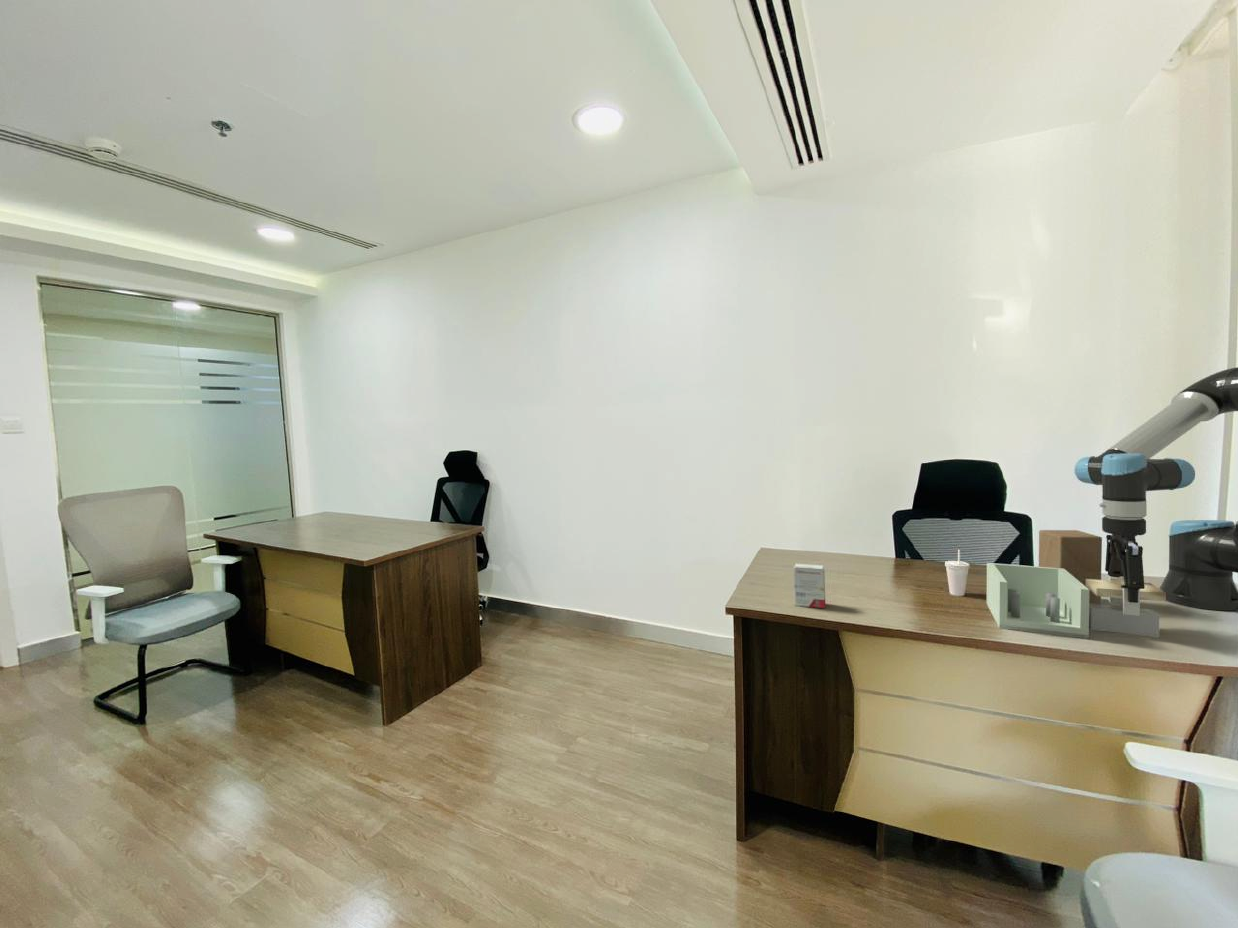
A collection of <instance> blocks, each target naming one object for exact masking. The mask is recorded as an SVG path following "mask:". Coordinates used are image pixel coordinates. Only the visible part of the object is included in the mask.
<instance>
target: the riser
mask: <svg viewBox="0 0 1238 928" xmlns="http://www.w3.org/2000/svg"><path fill="white" fill-rule="evenodd" d="M1089 629H1090V630H1091V631H1092V630H1093V631H1099V632H1100V631H1101V632H1108V633H1109V632H1110V633H1119V634H1127V635H1135V636H1143V637H1151V638H1157V639H1158V638H1160V613H1158V612H1157V611H1155V610H1154V609H1152V608H1141V607H1140V616H1136V615H1125V614H1123V605H1122V606H1121V605H1111V604H1110V605H1109V604H1092V603H1089Z"/></svg>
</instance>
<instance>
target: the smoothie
mask: <svg viewBox="0 0 1238 928" xmlns="http://www.w3.org/2000/svg"><path fill="white" fill-rule="evenodd" d="M944 566H945V568H946V569H945V570H946V576H947V583H948V588H949V589H948V590H949V594H950V595H951V596H955V597H963V596H965V593H966V588H967V580H968V575H969V569H970V568H971V566H970V563H968V562H965V561H961V549H958V548H957V560H946V561H945V562H944Z"/></svg>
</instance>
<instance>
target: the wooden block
mask: <svg viewBox="0 0 1238 928" xmlns="http://www.w3.org/2000/svg"><path fill="white" fill-rule="evenodd" d="M1102 552H1103V537H1101V536H1099V535H1096V534H1092V533H1088V532H1083V531H1080V530H1076V529H1069V530H1068V529H1066V530H1065V529H1059V530H1058V529H1040V530H1039V532H1038V567H1049V568H1062V569H1065V570H1066V571H1067V572H1069V573H1070V574H1071V575H1072V576H1073V577H1075V578H1076V579H1077V580H1078V581H1079V582H1081V583H1082V584H1083V585H1084V586H1085V587H1086V579H1095V580H1102V557H1103V555H1102V554H1103V553H1102ZM1101 602H1102V597H1101V596H1096V595H1095V594H1094V593H1093V592H1091V591H1090V590H1089V603H1092V604H1101Z"/></svg>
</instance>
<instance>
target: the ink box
mask: <svg viewBox="0 0 1238 928" xmlns="http://www.w3.org/2000/svg"><path fill="white" fill-rule="evenodd" d="M825 573H826V571H825V565H819V564H804V563H794V565H793V605H794V606H797V607H807V608H817V609H825V608H826V583H825V582H826V581H825V580H826V574H825Z"/></svg>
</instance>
